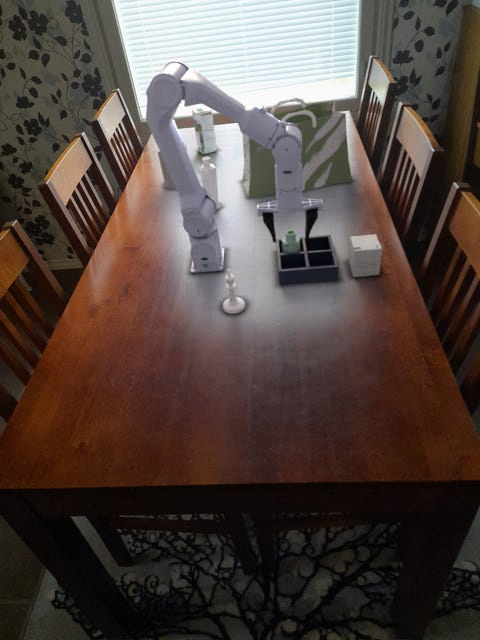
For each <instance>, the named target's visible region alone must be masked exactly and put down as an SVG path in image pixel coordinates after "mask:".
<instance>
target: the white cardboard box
mask: <svg viewBox="0 0 480 640" xmlns="http://www.w3.org/2000/svg"><path fill="white" fill-rule="evenodd" d="M348 247H349V248H348V265H349V269H350V271H351V274H352V277H353V278H360V277H371V276H379V275H380V272H381V262H382V253H383V248H382V245H381V243H380V240H379V239H378V236H377V234H376V233H375V234H364V235H353V236H349V246H348Z"/></svg>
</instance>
